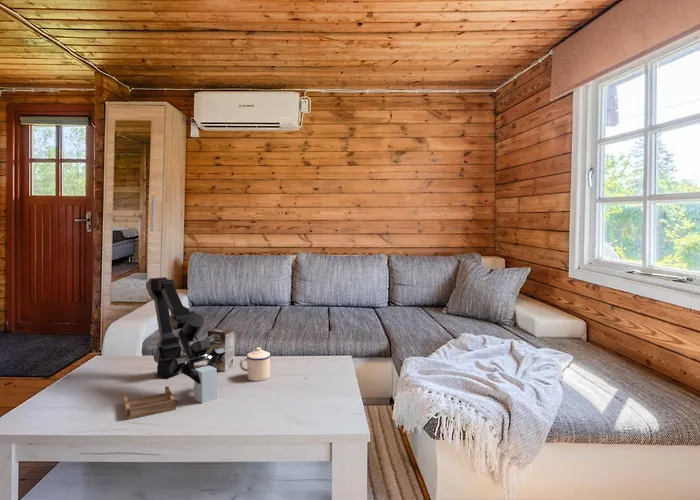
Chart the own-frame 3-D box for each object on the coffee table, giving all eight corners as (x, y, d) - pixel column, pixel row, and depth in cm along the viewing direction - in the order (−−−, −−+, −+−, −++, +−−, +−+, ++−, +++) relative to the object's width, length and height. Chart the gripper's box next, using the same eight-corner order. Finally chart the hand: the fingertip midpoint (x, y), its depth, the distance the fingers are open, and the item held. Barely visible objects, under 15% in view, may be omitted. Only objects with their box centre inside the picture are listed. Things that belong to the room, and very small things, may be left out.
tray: (123, 403, 144) (123, 394, 143) (168, 394, 151) (168, 386, 151) (127, 419, 132) (126, 410, 132) (175, 409, 139) (175, 400, 139)
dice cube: (184, 361, 187) (183, 350, 187) (194, 362, 186) (194, 350, 186) (177, 365, 182) (176, 353, 182) (187, 366, 181) (187, 354, 181)
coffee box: (207, 369, 177) (206, 330, 176) (217, 364, 183) (217, 326, 182) (225, 372, 174) (224, 332, 173) (235, 367, 180) (234, 329, 179)
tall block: (194, 399, 147) (194, 369, 147) (209, 394, 151) (208, 365, 151) (202, 403, 144) (201, 372, 143) (217, 398, 148) (216, 368, 147)
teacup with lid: (272, 373, 173) (272, 344, 172) (267, 381, 164) (267, 351, 163) (243, 372, 173) (242, 344, 172) (236, 381, 164) (236, 351, 163)
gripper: (172, 334, 142) (190, 375, 135) (222, 324, 156) (240, 361, 149) (161, 353, 147) (178, 393, 141) (210, 342, 161) (228, 378, 155)
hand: (207, 380), depth 146 cm, fingers closed on tall block, 5 cm apart
